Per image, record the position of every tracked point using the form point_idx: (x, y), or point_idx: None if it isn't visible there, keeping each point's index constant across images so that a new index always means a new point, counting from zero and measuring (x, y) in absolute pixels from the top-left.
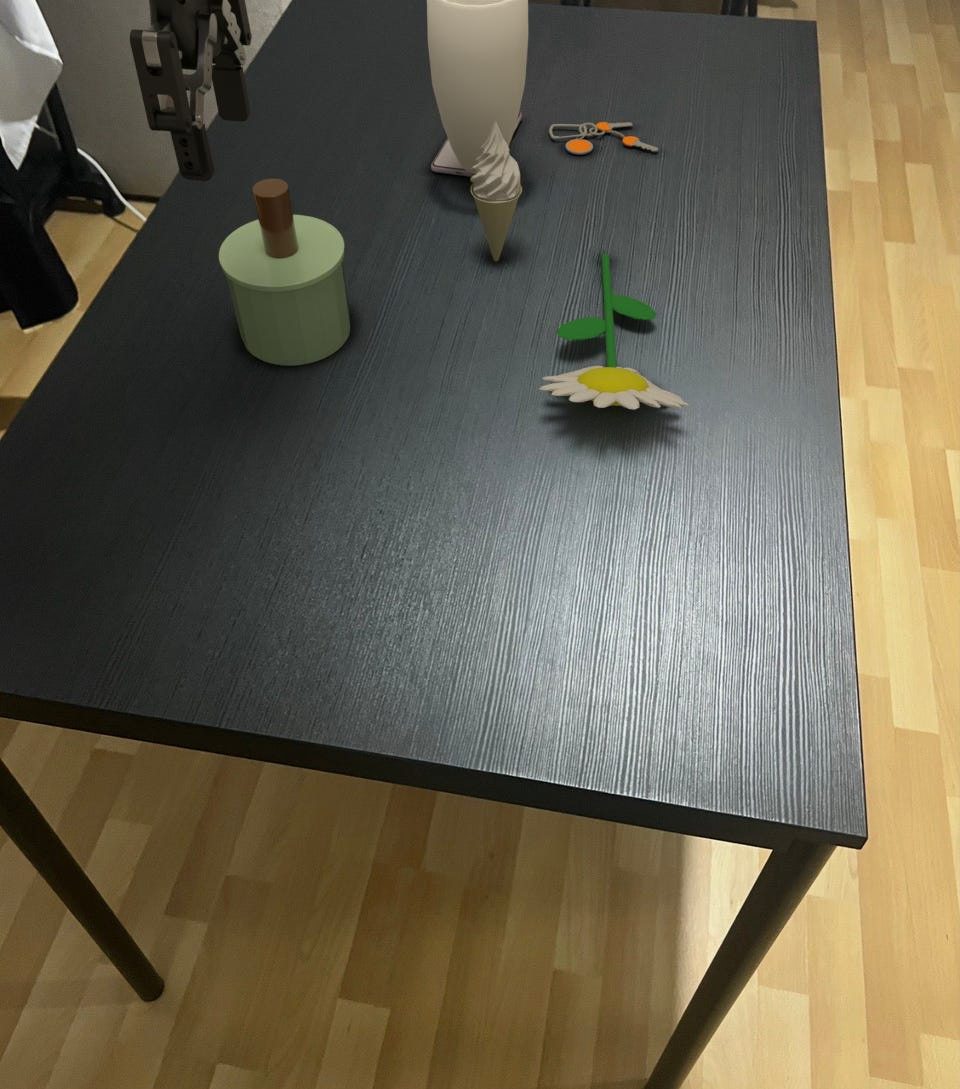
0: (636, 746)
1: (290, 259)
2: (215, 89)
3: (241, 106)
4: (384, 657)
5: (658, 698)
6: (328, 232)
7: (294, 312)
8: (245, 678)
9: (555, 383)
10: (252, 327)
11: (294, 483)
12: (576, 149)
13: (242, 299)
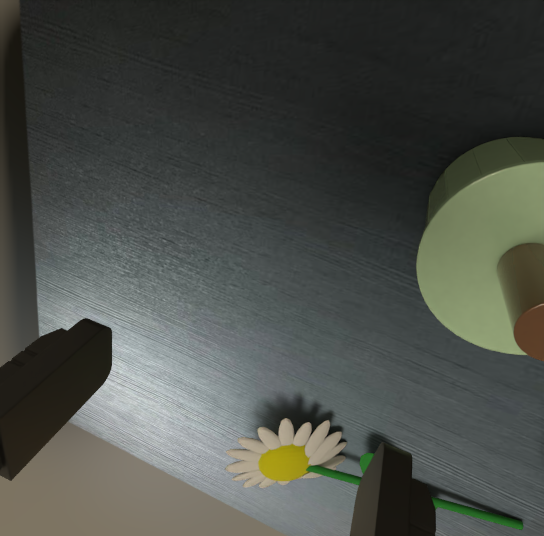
0: None
1: (488, 277)
2: (373, 524)
3: (355, 516)
4: (87, 240)
5: None
6: None
7: None
8: (58, 144)
9: (288, 431)
10: (455, 174)
11: (241, 191)
12: None
13: (465, 180)
